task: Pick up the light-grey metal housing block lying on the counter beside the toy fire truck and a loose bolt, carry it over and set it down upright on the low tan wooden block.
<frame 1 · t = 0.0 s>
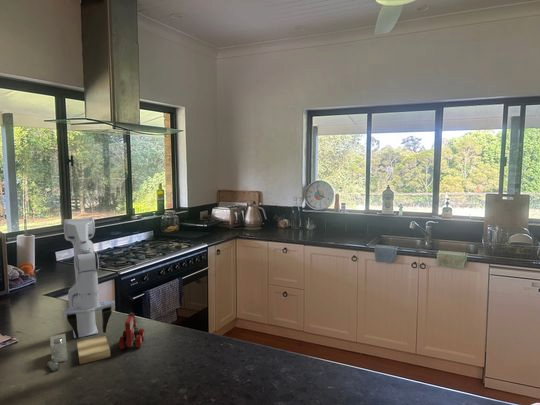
hand: (90, 334, 119), 10 cm above the worktop, tool pointing down, fingers open, 7 cm apart
toy fire truck: (132, 344, 135), on the worktop
tan wooden block: (93, 352, 128), on the worktop
bolt: (52, 368, 119), on the worktop
housing: (59, 357, 126), on the worktop
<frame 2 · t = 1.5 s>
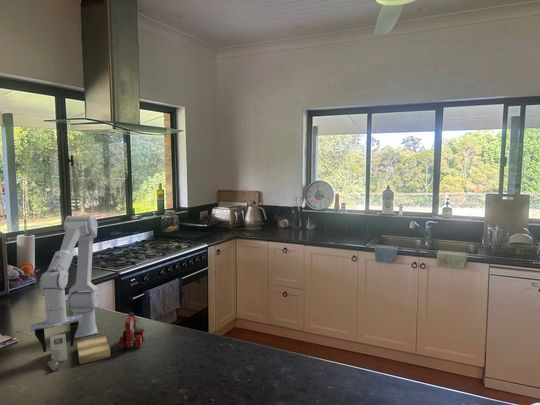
hand: (58, 347, 126), 3 cm above the worktop, tool pointing down, fingers open, 7 cm apart
nothing on the worktop moved.
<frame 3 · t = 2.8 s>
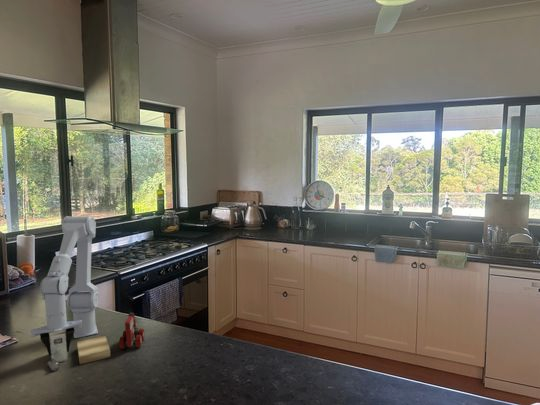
hand: (59, 352, 126), 1 cm above the worktop, tool pointing down, fingers closed on housing, 4 cm apart
housing: (59, 356, 126), on the worktop, touching gripper
everything else where it was.
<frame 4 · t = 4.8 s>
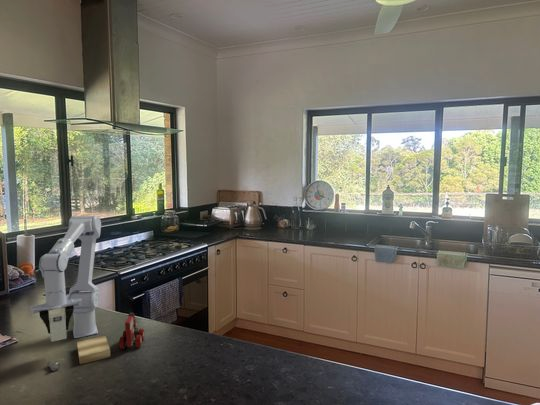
hand: (58, 330, 125), 9 cm above the worktop, tool pointing down, fingers closed on housing, 4 cm apart
housing: (58, 335, 125), point 7 cm above the worktop, touching gripper
everything else where it was.
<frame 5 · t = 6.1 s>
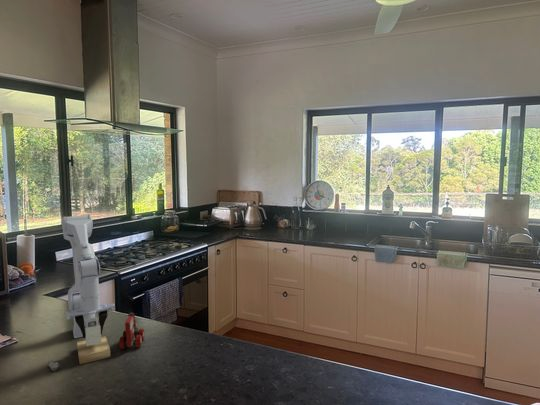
hand: (92, 335, 128), 6 cm above the worktop, tool pointing down, fingers closed on housing, 4 cm apart
housing: (92, 339, 128), point 5 cm above the worktop, touching gripper
everything else where it was.
when the fingers open (5 cm above the worktop, at t = 7.2 s): housing stays where it is, resting on tan wooden block.
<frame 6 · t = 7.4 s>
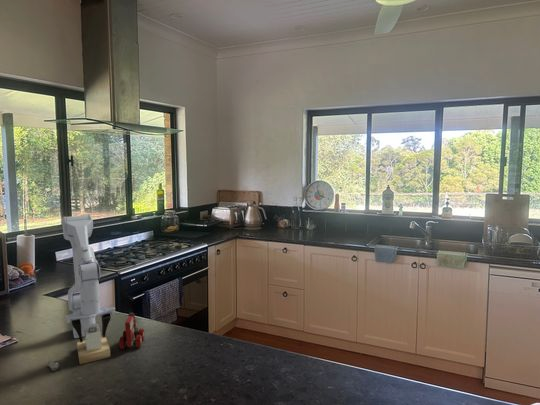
hand: (92, 338, 128), 5 cm above the worktop, tool pointing down, fingers open, 6 cm apart
housing: (93, 345, 128), point 2 cm above the worktop, touching tan wooden block
everything else where it was.
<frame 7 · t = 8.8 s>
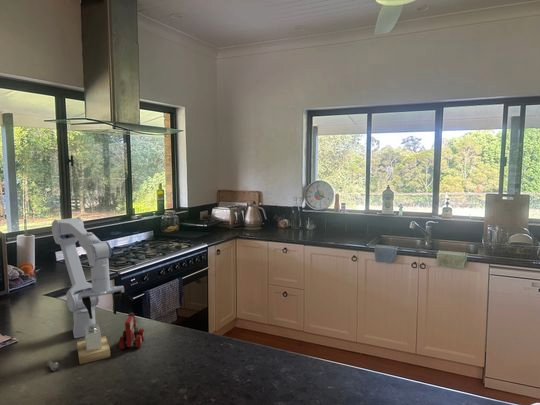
hand: (103, 315, 133), 10 cm above the worktop, tool pointing down, fingers open, 7 cm apart
nothing on the worktop moved.
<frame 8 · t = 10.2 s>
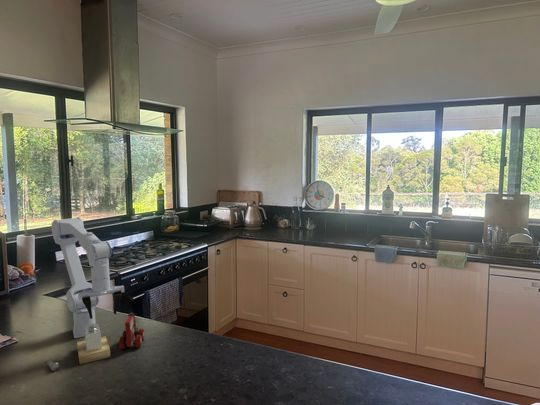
hand: (103, 315, 133), 10 cm above the worktop, tool pointing down, fingers open, 7 cm apart
nothing on the worktop moved.
at the end: housing inside the target area on the tan wooden block (0.1 cm from its centre), point 2.5 cm above the tan wooden block's base; housing tilted 0°; the gripper is holding nothing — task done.
